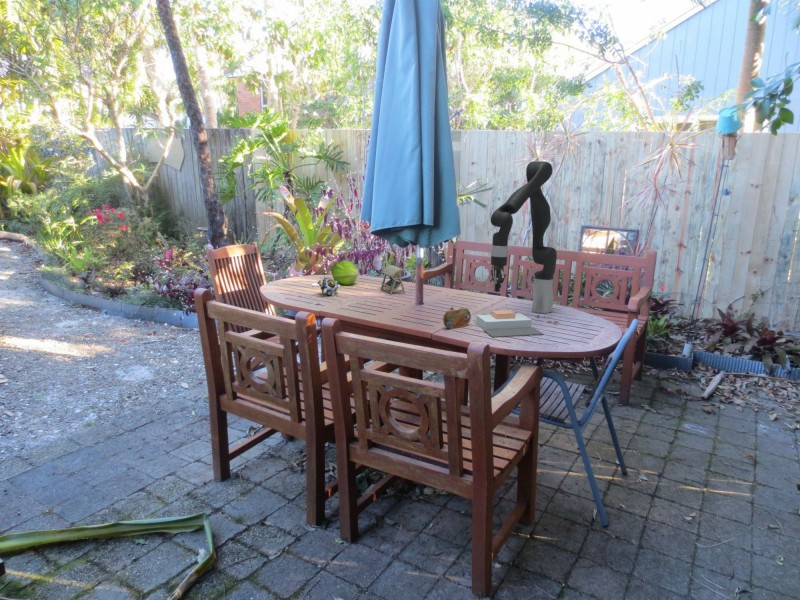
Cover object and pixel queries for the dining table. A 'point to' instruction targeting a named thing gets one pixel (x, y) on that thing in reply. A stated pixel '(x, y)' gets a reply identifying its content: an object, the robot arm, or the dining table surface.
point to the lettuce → (344, 272)
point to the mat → (513, 332)
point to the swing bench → (392, 283)
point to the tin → (456, 318)
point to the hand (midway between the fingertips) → (496, 291)
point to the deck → (503, 322)
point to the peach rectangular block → (503, 314)
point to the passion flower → (329, 285)
